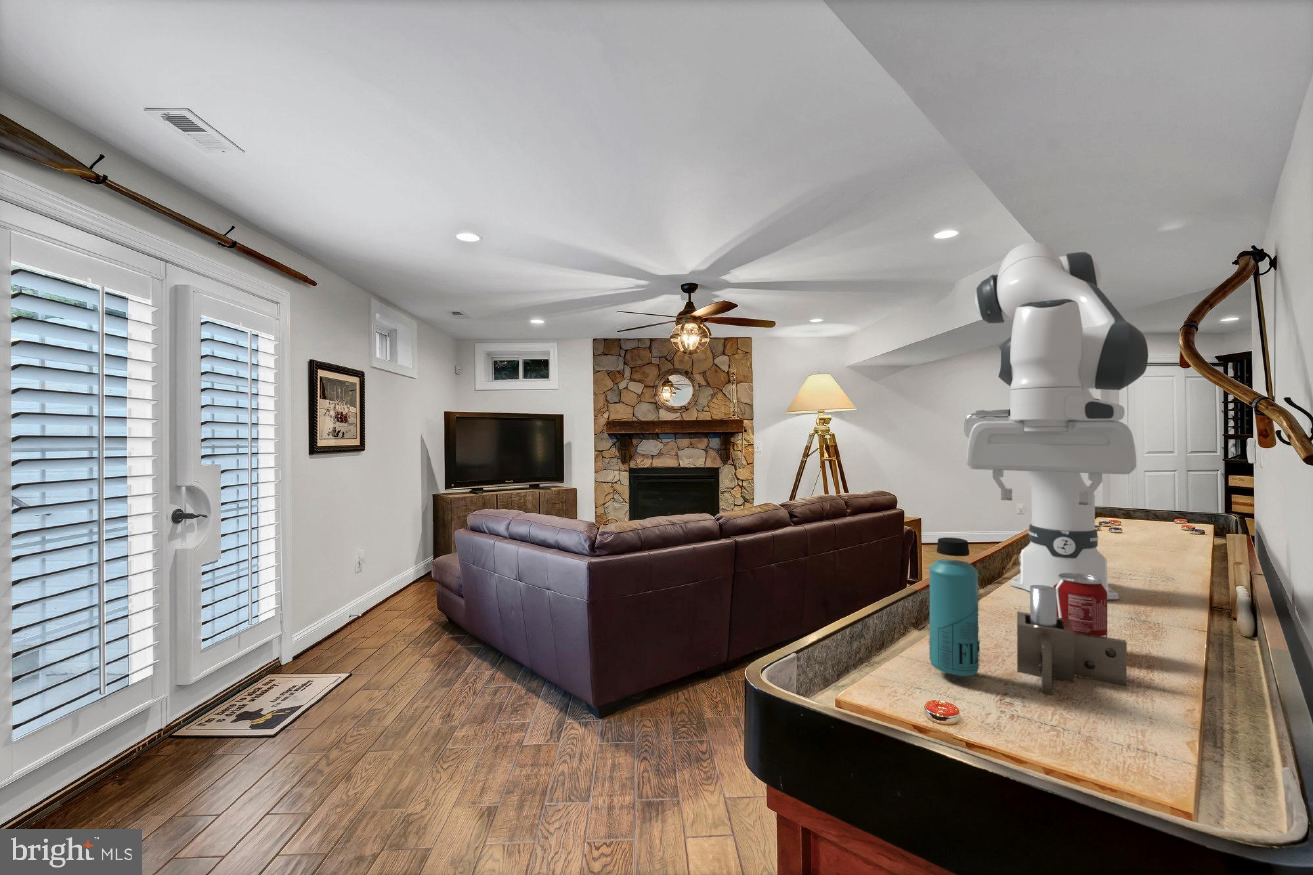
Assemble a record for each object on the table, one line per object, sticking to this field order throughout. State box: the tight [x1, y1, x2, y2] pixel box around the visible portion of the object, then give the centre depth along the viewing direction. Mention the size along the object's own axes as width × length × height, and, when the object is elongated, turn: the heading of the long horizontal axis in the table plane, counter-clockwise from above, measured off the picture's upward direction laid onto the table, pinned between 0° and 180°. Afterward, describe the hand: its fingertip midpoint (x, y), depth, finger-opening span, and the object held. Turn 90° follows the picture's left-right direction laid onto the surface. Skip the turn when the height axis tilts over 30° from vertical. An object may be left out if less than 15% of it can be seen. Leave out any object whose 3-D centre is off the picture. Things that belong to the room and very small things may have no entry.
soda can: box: [1053, 573, 1108, 637], centre depth 86 cm, size 7×7×12 cm
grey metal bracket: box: [1016, 611, 1128, 696], centre depth 76 cm, size 13×13×7 cm
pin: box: [1029, 585, 1057, 628], centre depth 81 cm, size 3×3×12 cm
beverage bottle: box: [928, 536, 981, 677], centre depth 78 cm, size 6×7×20 cm
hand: (1044, 502), depth 80 cm, fingers open, 8 cm apart
